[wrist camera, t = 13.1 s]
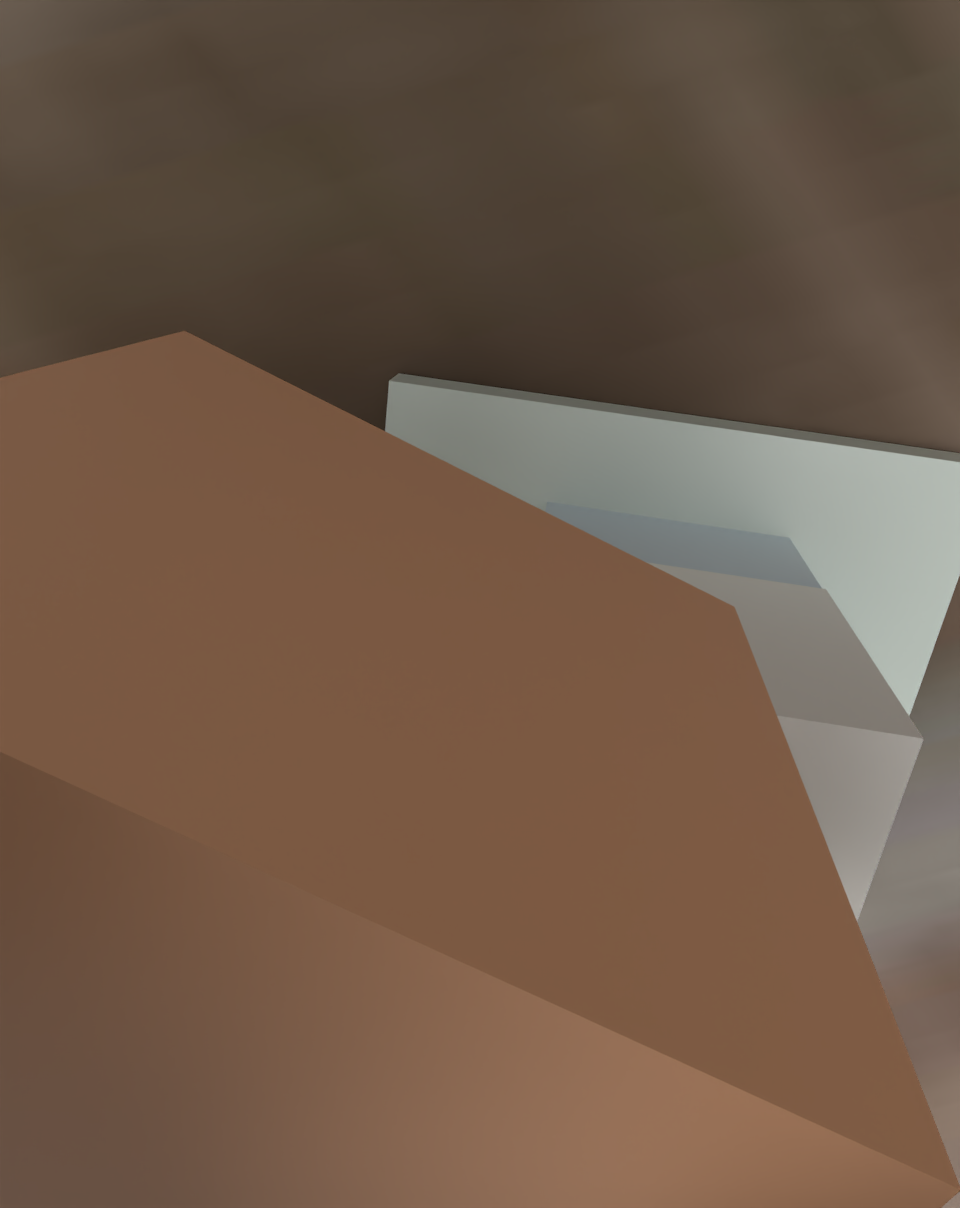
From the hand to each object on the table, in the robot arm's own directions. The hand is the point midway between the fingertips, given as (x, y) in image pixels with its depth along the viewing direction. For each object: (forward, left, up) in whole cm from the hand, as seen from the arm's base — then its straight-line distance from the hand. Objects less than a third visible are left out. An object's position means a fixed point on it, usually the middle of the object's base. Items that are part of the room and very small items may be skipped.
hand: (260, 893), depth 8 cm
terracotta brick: (0, 0, -1) cm, 1 cm away
